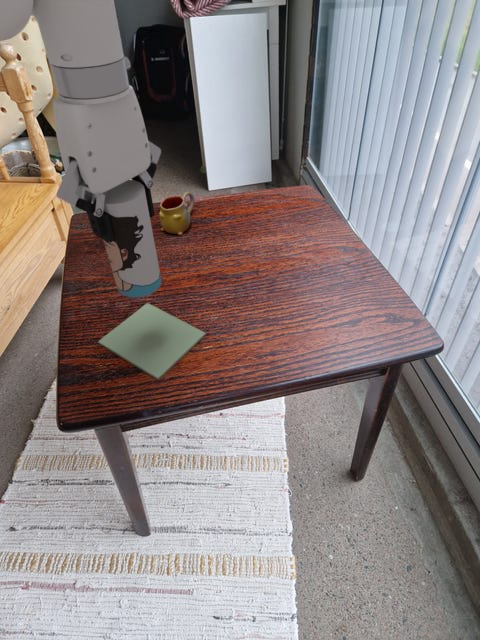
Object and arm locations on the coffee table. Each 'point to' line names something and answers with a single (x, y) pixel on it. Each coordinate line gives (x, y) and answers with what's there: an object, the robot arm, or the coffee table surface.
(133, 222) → the cup
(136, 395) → the coffee table surface
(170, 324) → the mat
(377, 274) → the coffee table surface
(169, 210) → the mug
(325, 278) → the coffee table surface
